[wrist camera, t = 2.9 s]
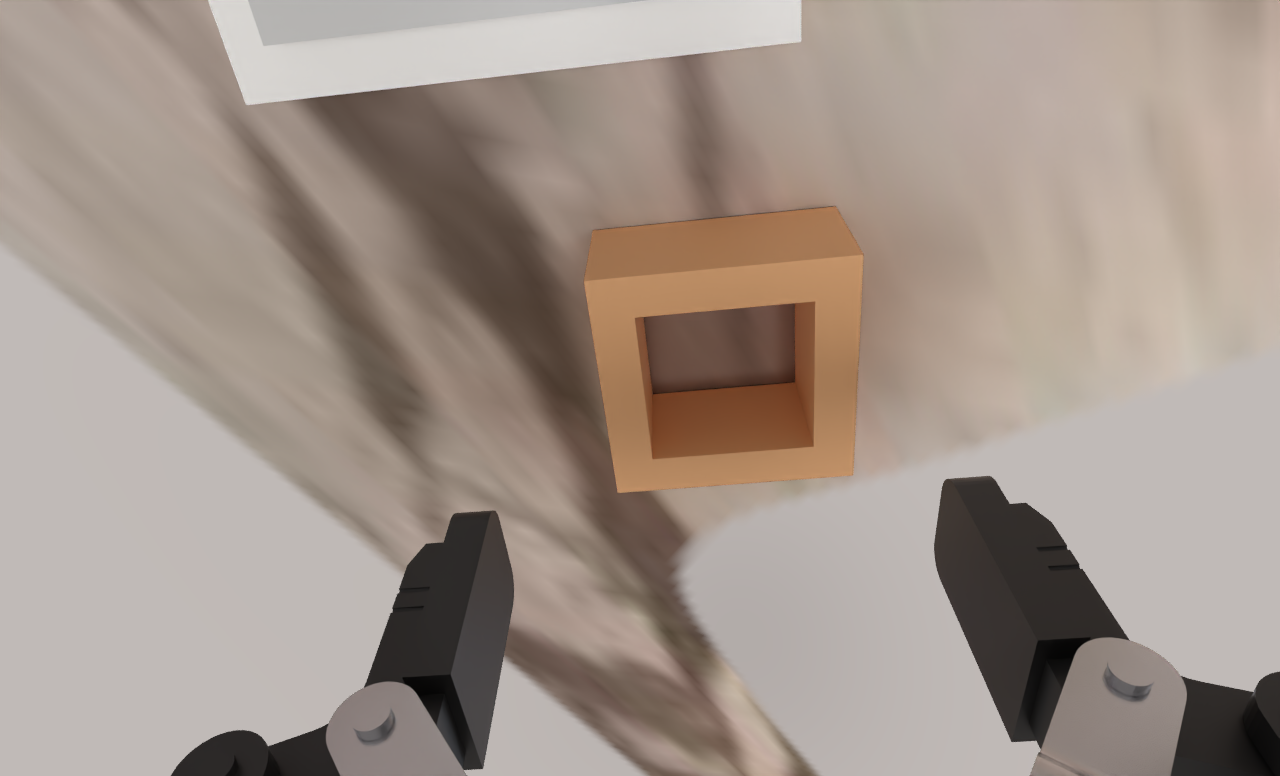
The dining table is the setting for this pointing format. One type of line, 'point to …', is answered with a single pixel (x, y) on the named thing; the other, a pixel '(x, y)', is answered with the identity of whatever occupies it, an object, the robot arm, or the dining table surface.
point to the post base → (472, 38)
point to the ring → (718, 280)
